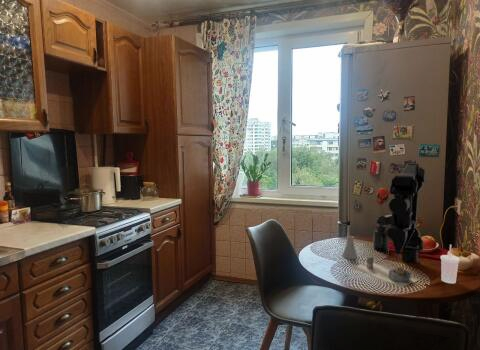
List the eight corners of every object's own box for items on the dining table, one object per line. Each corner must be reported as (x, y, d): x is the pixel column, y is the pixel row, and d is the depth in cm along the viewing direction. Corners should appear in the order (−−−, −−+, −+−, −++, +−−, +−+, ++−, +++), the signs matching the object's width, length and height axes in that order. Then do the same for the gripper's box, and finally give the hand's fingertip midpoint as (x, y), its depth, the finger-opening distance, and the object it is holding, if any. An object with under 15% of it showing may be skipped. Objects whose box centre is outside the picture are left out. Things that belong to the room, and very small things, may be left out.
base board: (369, 263, 143) (370, 250, 142) (420, 282, 124) (421, 266, 124) (350, 269, 137) (351, 255, 136) (401, 289, 118) (401, 273, 118)
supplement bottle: (389, 249, 162) (390, 224, 161) (387, 253, 156) (388, 228, 155) (374, 246, 166) (375, 223, 165) (371, 250, 160) (372, 226, 159)
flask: (359, 262, 145) (360, 239, 144) (342, 260, 147) (342, 238, 146) (357, 256, 152) (357, 235, 151) (340, 255, 154) (341, 234, 153)
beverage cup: (451, 285, 121) (453, 248, 120) (435, 279, 127) (437, 243, 126) (462, 282, 124) (464, 245, 122) (446, 276, 129) (448, 241, 128)
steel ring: (392, 273, 130) (392, 267, 130) (411, 278, 126) (412, 271, 125) (387, 279, 124) (387, 273, 124) (407, 284, 120) (408, 277, 120)
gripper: (386, 203, 134) (385, 240, 136) (372, 210, 120) (370, 253, 121) (417, 206, 128) (415, 246, 129) (406, 215, 113) (403, 259, 115)
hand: (400, 250), depth 124 cm, fingers open, 9 cm apart
